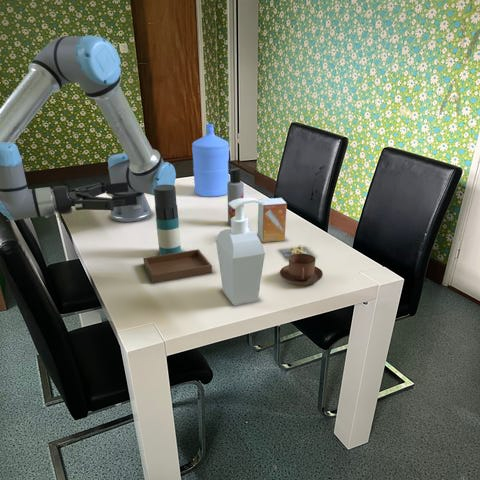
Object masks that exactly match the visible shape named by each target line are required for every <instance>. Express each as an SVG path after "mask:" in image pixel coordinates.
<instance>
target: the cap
mask: <svg viewBox="0 0 480 480" xmlns="http://www.w3.org/2000/svg"><path fill="white" fill-rule="evenodd" d="M153 198H154V213H155V219H156V218H157V219H159V220H173V219H175V218H177V217H178V218H179V211H178V204H177V192H176V185H174V186H173V185H158V186H155V187H154V195H153Z"/></svg>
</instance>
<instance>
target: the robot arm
mask: <svg viewBox="0 0 480 480" xmlns="http://www.w3.org/2000/svg"><path fill="white" fill-rule="evenodd" d="M121 65H122V63H121V58H120V55H119V53H118V51H117V49H116V47H115V46H114V45H113V44H112V43H111V42H110V41H108V40H107V39H106V38H104V37H102V36H96V35H90V34H89V35H83V36H81V35H79V36H72V35H71V36H69V35H61V36H58V37H56V38H54V39H52V40H51V41H50V42H48V43H47V44H46V45H45V46H44V47H43V48H42V49H41V50H40V51H39V52H38V53H37V54H36V56H35V57H34V58H33V59H32V61H31V62H30V63H29V64H28V66H27V68H28V73H27V74H26V75H25V76H24V78H23V79H22V80H21V81H20V82H19V84H18V85H17V86H16V88H15V89H14V90H13V92H11V94H10V95H9V96H8V98H7V99H6V100H5V102H4V103H3V104H2V105H1V106H0V212H1V213H2V214H3V215H4V216H6V217H7V218H8V219H9V220H8V221H18V220H19V221H20V220H26V219H33V218H41V217H42V218H43V217H45V218H46V219H48V218H50V217H51V216H56V215H57V213H58V215H59V216H61V215H69V214H70V215H71V214H72V213H73V210H72V207H74V209H75V211H110V218H111V220H113V221H116V222H120V223H135V222H140V221H145V220H147V219H149V218H150V217H151V216H152V209H151V206H150V204H149V202H148V200H147V198H146V195H145V194H147V195H150V196H154V187H155V186H158V185H173V186H175V184H176V179H177V172H176V169H175V166H174V165H173V164H171V163H170V162H168V161H164V159H163V157H162V155H161V153H160V152H159V150H158V149H155V148H153V147H152V145H151V144H150V141H149V140H148V138H147V136H146V134H145V132H144V130H143V129H142V128H143V127H142V126H141V125H140V123H139V120H138V119H137V117H136V115H135V113H134V110H133V108H132V107H131V105H130V103H129V101H128V100H127V97H126V96H125V93H124V92H123V90H122V87H121V85H120V84H121V81H122V76H121V72H122V67H121ZM70 83H74V84H78V85H79V87H80V88H81V90H82V91H83V93H84V95H85V96H86V97H87V98H89V99H92V100H94V102H95V104H96V105H97V107H98V109H99V111H100V112H101V113H102V116H103V117H104V119H105V121H106V123H107V124H108V126H109V127H110V129H111V131H112V133H113V134H114V136H115V138H116V140H117V141H118V143H119V145H120V146H121V148H122V150H123V152H122V153H117V154H112V155H110V156H109V157H108V159H107V164H108V166H107V169H108V175H109V179H110V180H109V181H108V182H107V183H105V181H100V182H97V183H92V184H88V185H84V186H83V185H82V186H80V187H73V188H70V192H69V189H68V186H66V185H59V186H57V185H56V186H53V188H51V187H50V186H48V187H39V188H31V189H30V188H29V187H28V183H27V179H26V174H25V169H24V164H23V159H22V156H21V154H20V151H19V147H18V145H17V144H16V143H15V142H16V141H17V139H18V138H19V136H20V135H22V133H23V132H24V130H25V129H26V127H28V125H29V124H30V122H31V121H32V120H33V118H34V117H35V116H36V114H37V113H38V112H39V111H40V109H41V108H42V107H43V106H44V104H45V103H46V102H47V101H48V99H49V98H50V97H51V95H52V94H53V93H55V94H57V93H59V92H60V90H61V89H62V88H63V87H64V86H66V85H67V84H70ZM104 194H106V195H111V197H103V196H100V195H104Z"/></svg>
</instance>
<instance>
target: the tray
mask: <svg viewBox="0 0 480 480" xmlns="http://www.w3.org/2000/svg"><path fill="white" fill-rule="evenodd" d="M142 261H143V266H144V268H145V270H146V272H147V274H148V276H149V277H150V280H151V281H152V283H153V284H158V283H163V282H169V281H175V280H180V279H186V278H192V277H196V276H197V277H198V276H203V275H210V274H213V265H212V264H211V262H210V261H209V260H208V259H207V258H206V256H205V255H204V254H203V253H202V251H201V250H200V249H198V248H197V249H191V250H184V251H181V252H178V253H172V254H165V255H160V254H159V255H153V256H147V257H143V258H142Z"/></svg>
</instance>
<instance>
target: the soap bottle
mask: <svg viewBox="0 0 480 480" xmlns="http://www.w3.org/2000/svg"><path fill="white" fill-rule="evenodd" d="M251 203H256V204H258V203H259V204H263V202H262V201H260V200H259V199H257V198H253V197H243V198H239V199H236V200H233V201H231V202H229V203H228V202H227V205H228V204H229V205H230V206H231V207H232V208H233V209H235V217H233V218H231V226H230V228H228V229H222V230H221V231H219V232H218V234H217V236H216V239H215V244H216V250H217V259H218V265H219V266H218V267H219V273H220V279H221V287H222V293H224V295H225V296H226V297H227V298H228V300H229V302H230V303H231V304H232V305H233V306H238V305H244V304H249V303H252V302H253V303H254V302H257V301H258V299H259V294H260V288H261V282H262V274H263V268H264V262H265V255H266V253H265V250H264V249H265V248H264V246H263V244H262V241H261V240H260V238H259V237H258V233H257V232H256V231H254V230H253V229H252V228H251V227H250V226H249V217H246V216H245V215H244V211H245V209H244V207H245V205H246V204H251Z"/></svg>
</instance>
